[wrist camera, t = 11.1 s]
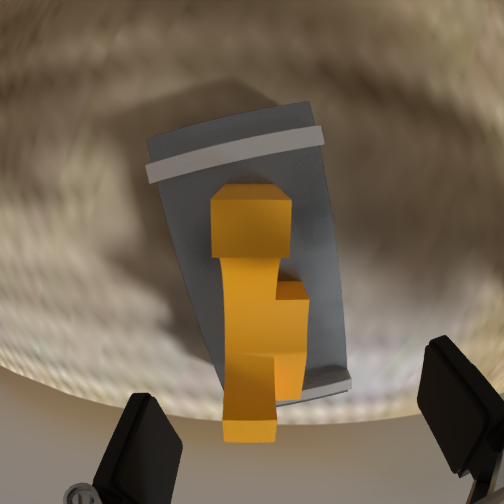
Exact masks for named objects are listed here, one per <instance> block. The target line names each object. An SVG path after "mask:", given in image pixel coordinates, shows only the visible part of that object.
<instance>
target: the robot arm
mask: <svg viewBox="0 0 504 504" xmlns="http://www.w3.org/2000/svg"><path fill="white" fill-rule="evenodd" d="M417 403H418V407H419V409H420V410H421V412H422V414H423V416H424V418H425V420H426V421H427V423H428V425H429V427H430V429H431V431H432V433H433V435H434V437H435V439H436V440H437V443H438V444H439V446H440V448H441V450H442V452H443V454H444V456H445V458H446V460H447V462H448V464H449V467H450V469H451V471H452V472H453V473H455V474H456V473H457V474H458V476H459V478H461V477H463V476H465V475H467V474H469V473H471V475H472V477H473V479H474V481H473V484H472V487H471V490H470V493H469V496H468V498H467V501H466V504H504V401H503V399H502V398H501V397H500V396H499V394H498V393H497V392H496V391H495V389H494V388H493V387H492V386H491V384H490V383H489V382H488V381H487V380H486V378H485V377H484V376H483V375H482V374H481V372H480V371H479V370H478V369H477V368H476V366H474V365H473V364H472V363H471V362H470V361H469V360H468V359H467V358H466V357H465V355H464V354H463V353H462V352H461V351H460V350H459V349H458V347H457V346H456V345H455V344H454V343H453V342H452V341H451V340H450V339H449V337H447V336H446V335H443V336H440V337H438V338H435V339H432V340H430V342H429V345H427V346H426V348H425V354H424V361H423V368H422V374H421V380H420V385H419V391H418V396H417ZM182 449H183V445H182V441H181V439H180V438H179V436H178V435H177V433H176V432H175V430H174V428H173V427H172V425H171V424H170V422H169V420H168V419H167V417H166V415H165V414H164V412H163V410H162V409H161V407H160V405H159V403H158V402H157V400H156V398H155V397H152V396H151V395H150V394H149V393H133V394H132V395H131V396H130V399H129V401H128V403H127V405H126V407H125V409H124V411H123V414H122V416H121V418H120V420H119V422H118V424H117V427H116V429H115V431H114V433H113V435H112V438H111V440H110V442H109V444H108V447H107V449H106V451H105V453H104V456H103V458H102V461H101V463H100V465H99V467H98V470H97V472H96V475H95V477H94V479H93V484H92V485H90V484H87V483H77V484H74V485H73V486H71V487H70V488H69V489H68V490H67V491H66V492H65V494H64V499H63V503H64V504H171V499H172V494H173V490H174V485H175V480H176V476H177V471H178V467H179V463H180V458H181V454H182Z"/></svg>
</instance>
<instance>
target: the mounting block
mask: <svg viewBox="0 0 504 504" xmlns="http://www.w3.org/2000/svg"><path fill="white" fill-rule="evenodd" d="M147 144H148V148H149V153H150V157H151V161H152V163H150V164H147V165H145V167H146V171H147V176H148V180H149V184H151V183H154V182H157V186H158V190H159V194H160V198H161V202H162V205H163V209H164V213H165V217H166V220H167V224H168V228H169V231H170V235H171V238H172V242H173V245H174V248H175V252H176V255H177V258H178V262H179V265H180V268H181V272H182V275H183V278H184V281H185V284H186V287H187V291H188V294H189V297H190V300H191V303H192V306H193V309H194V312H195V315H196V318H197V320H198V323H199V326H200V329H201V332H202V335H203V338H204V340H205V343H206V346H207V349H208V351H209V354H210V357H211V359H212V362H213V365H214V367H215V370H216V373H217V375H218V378H219V380H220V383H221V385H222V388H223V391H224V380H225V313H224V290H223V277H222V269H221V262H220V258H212V243H211V201H210V200H211V199H212V198H213V196H214V195H215V194H216V193H217V192H218V191H219V190H220V189H221V188H222V187H223V186H224V185H225V184H275V185H276V186H277V187H278V188H279V189H281V190H282V191H283V192H284V193H285V194H286V195H287V196H288V197H289V198H290V199H291V200H292V209H291V235H290V257H289V258H281V260H280V264H279V269H278V277H277V281H302V282H303V285H304V287H305V290H306V292H307V294H308V297H309V299H310V301H309V310H308V324H307V358H306V365H305V372H304V379H303V386H302V392H301V399H300V400H281V401H276V407H279V406H285V405H290V404H295V403H300V402H305V401H310V400H314V399H319V398H323V397H327V396H331V395H335V394H339V393H343V392H347V391H348V389H351V388H352V379H351V376H350V374H349V372H348V369H347V356H346V339H345V325H344V313H343V301H342V291H341V281H340V272H339V264H338V255H337V248H336V240H335V233H334V226H333V219H332V213H331V206H330V200H329V194H328V188H327V183H326V177H325V172H324V166H323V161H322V156H321V151H320V146H319V145H324V144H325V143H324V138H323V133H322V129H321V125H318V126H315V123H314V119H313V114H312V110H311V106H310V101H308V102H301V103H294V104H288V105H281V106H276V107H270V108H264V109H259V110H254V111H249V112H244V113H240V114H235V115H231V116H226V117H222V118H218V119H214V120H210V121H206V122H202V123H198V124H194V125H191V126H187V127H184V128H180V129H177V130H173V131H170V132H167V133H163V134H160V135H157V136H154V137H151V138H148V139H147ZM223 404H224V399H223Z"/></svg>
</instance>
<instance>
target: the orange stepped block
mask: <svg viewBox="0 0 504 504" xmlns="http://www.w3.org/2000/svg"><path fill="white" fill-rule="evenodd" d="M210 201H211V243H212V258H220V262H221V269H222V277H223V290H224V313H225V380H224V404H223V419H222V421H223V432H224V441H225V442H242V443H243V442H244V443H245V442H247V443H250V442H251V443H257V442H275V435H276V426H277V413H276V401H281V400H300V399H301V392H302V386H303V379H304V372H305V365H306V358H307V324H308V310H309V301H310V299H309V297H308V294H307V292H306V290H305V287H304V285H303V282H302V281H277V277H278V269H279V264H280V260H281V258H289V257H290V235H291V209H292V200H291V199H290V198H289V197H288V196H287V195H286V194H285V193H284V192H283V191H282V190H281V189H279V188H278V187H277V186H276V185H275V184H225V185H224V186H223V187H222V188H221V189H220V190H219V191H218V192H217V193H216V194H215V195H214V196H213V198H212V199H211V200H210Z"/></svg>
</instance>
